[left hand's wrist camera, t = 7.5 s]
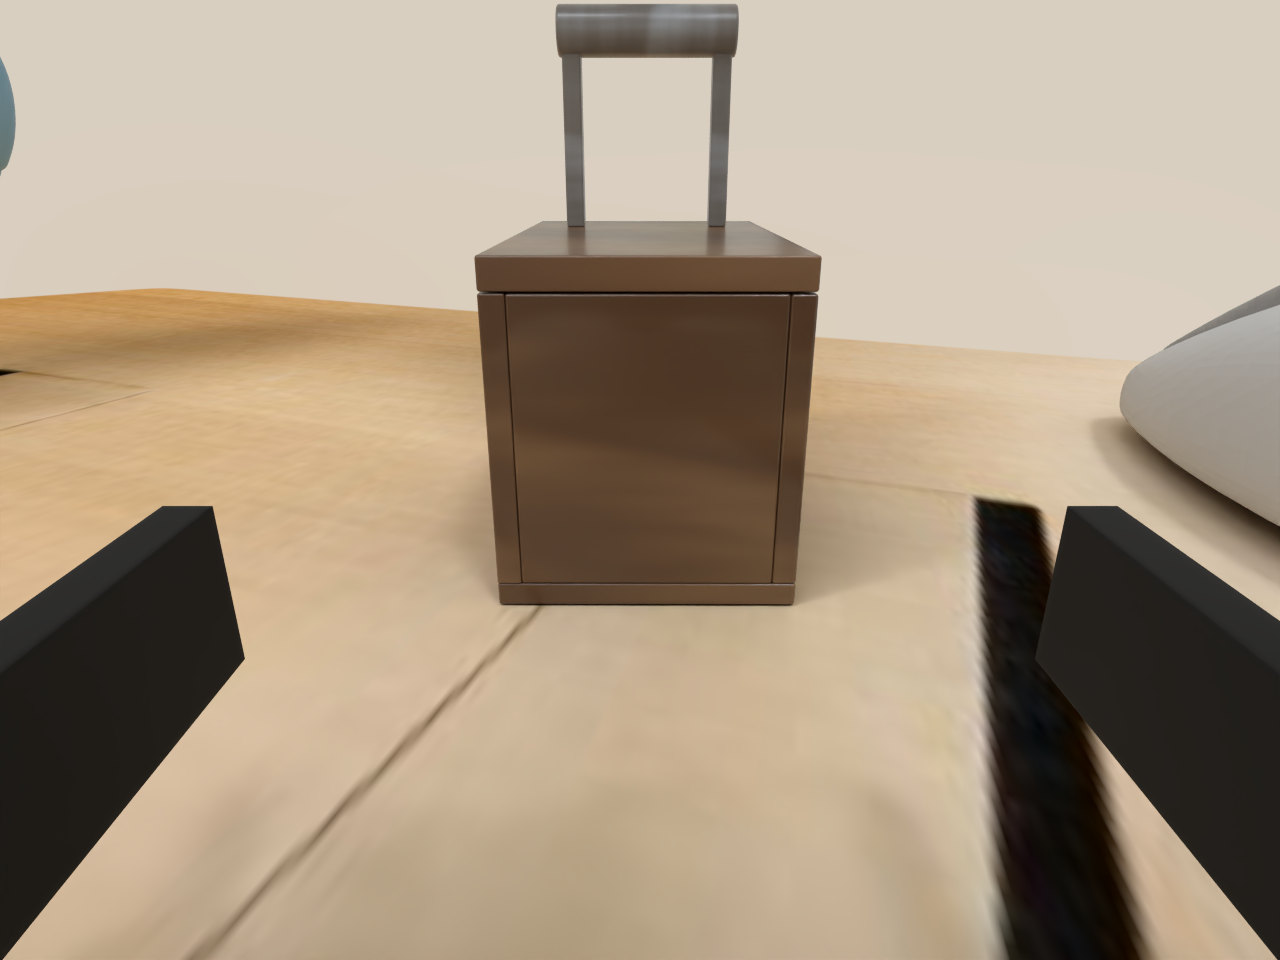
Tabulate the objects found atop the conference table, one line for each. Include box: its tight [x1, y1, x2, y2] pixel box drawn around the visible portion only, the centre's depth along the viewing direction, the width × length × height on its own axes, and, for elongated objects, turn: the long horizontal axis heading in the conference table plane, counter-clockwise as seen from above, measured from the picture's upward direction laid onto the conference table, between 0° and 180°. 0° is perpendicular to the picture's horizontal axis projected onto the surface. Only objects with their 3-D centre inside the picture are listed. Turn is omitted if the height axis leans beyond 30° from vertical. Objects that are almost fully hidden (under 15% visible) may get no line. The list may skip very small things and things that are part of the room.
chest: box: [477, 292, 818, 604], centre depth 30 cm, size 14×9×10 cm, turn 0°
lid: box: [475, 4, 822, 292], centre depth 27 cm, size 15×9×9 cm, turn 0°
